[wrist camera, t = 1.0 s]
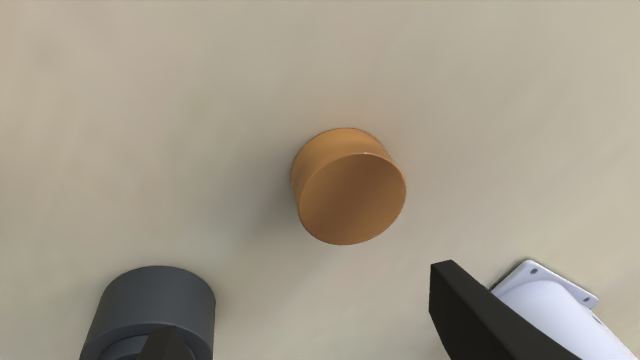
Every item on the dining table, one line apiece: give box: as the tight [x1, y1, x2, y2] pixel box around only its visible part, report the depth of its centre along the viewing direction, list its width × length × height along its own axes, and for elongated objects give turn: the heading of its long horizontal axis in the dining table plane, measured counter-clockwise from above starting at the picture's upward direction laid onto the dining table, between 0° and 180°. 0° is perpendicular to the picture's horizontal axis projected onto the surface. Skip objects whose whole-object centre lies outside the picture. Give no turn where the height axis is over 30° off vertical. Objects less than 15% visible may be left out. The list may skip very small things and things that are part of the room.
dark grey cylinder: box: [79, 266, 215, 360], centre depth 19 cm, size 6×6×6 cm
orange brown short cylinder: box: [291, 128, 406, 245], centre depth 18 cm, size 5×5×3 cm
